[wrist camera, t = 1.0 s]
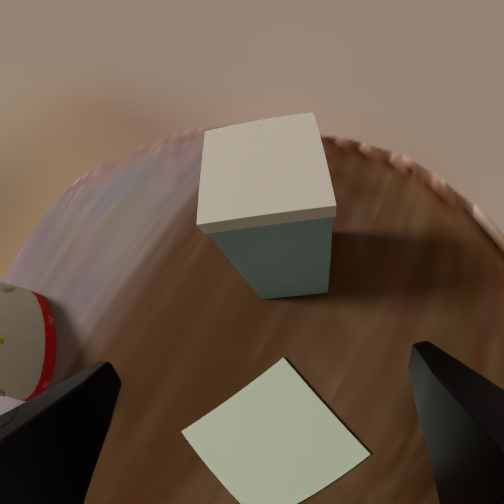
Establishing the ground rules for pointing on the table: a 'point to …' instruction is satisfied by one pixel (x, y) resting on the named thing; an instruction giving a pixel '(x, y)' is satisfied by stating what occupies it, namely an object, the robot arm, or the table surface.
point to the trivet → (275, 441)
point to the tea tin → (270, 203)
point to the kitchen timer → (25, 343)
